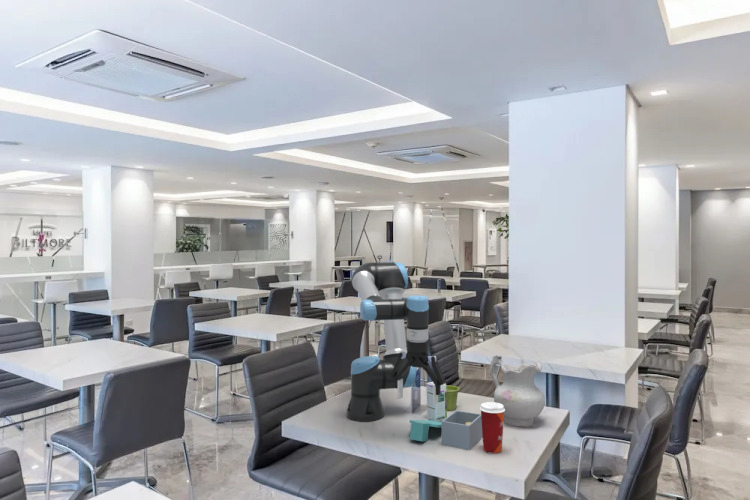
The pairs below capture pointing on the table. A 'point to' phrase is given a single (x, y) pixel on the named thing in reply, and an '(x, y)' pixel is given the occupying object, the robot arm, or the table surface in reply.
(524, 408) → the ceramic pitcher
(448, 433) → the parts tub
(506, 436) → the table surface
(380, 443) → the table surface
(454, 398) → the plant pot
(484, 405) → the coffee cup
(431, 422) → the snap lid
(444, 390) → the syrup box
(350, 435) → the table surface
